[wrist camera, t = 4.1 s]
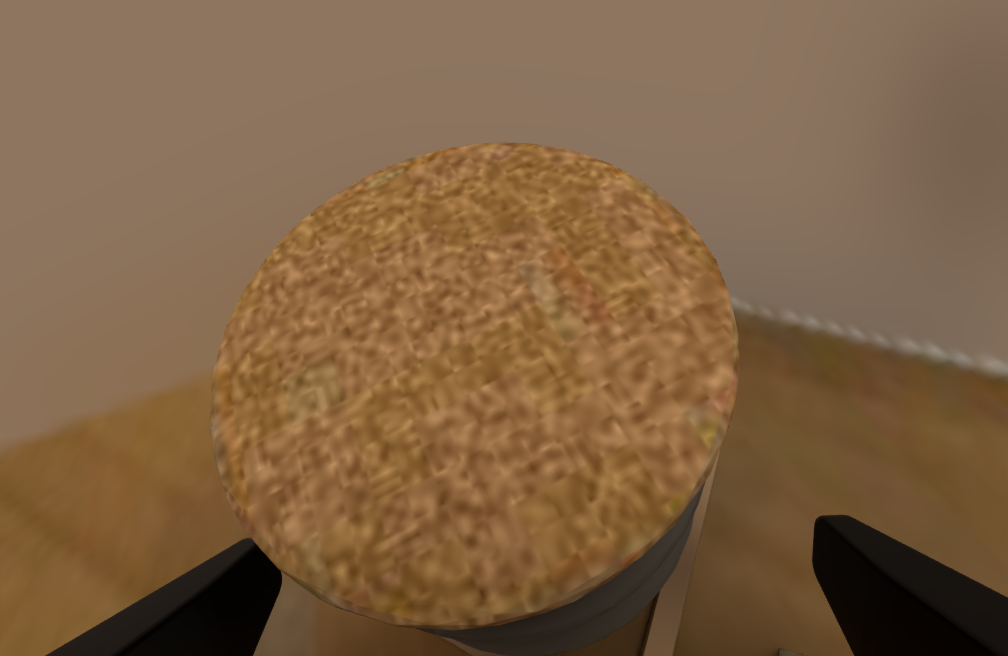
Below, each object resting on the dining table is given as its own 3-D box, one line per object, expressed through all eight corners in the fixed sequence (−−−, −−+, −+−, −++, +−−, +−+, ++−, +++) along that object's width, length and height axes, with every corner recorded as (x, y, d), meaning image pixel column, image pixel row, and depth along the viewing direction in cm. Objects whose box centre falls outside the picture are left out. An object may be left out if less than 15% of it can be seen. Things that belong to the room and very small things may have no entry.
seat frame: (644, 746, 14) (648, 756, 13) (390, 602, 17) (379, 602, 16) (713, 458, 17) (719, 451, 17) (494, 381, 20) (490, 371, 19)
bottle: (469, 461, 19) (211, 161, 6) (616, 437, 18) (686, 58, 5) (483, 635, 16) (20, 803, 3) (659, 612, 15) (1039, 688, 2)
